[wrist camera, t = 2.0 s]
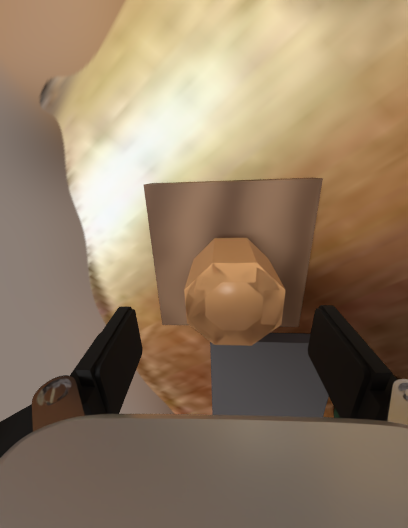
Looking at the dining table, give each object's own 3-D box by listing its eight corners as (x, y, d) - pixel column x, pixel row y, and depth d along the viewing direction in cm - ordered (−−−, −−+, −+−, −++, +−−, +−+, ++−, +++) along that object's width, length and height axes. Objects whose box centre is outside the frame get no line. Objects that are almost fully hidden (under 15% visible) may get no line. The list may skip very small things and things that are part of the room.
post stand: (312, 177, 19) (372, 182, 11) (292, 315, 24) (324, 378, 17) (150, 183, 20) (109, 191, 12) (166, 313, 25) (144, 372, 18)
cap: (270, 237, 17) (289, 262, 12) (264, 304, 19) (278, 346, 14) (192, 238, 17) (181, 262, 13) (196, 303, 20) (188, 344, 15)
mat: (335, 334, 25) (342, 343, 23) (316, 410, 30) (321, 422, 28) (210, 331, 26) (210, 340, 24) (213, 406, 31) (212, 417, 29)
